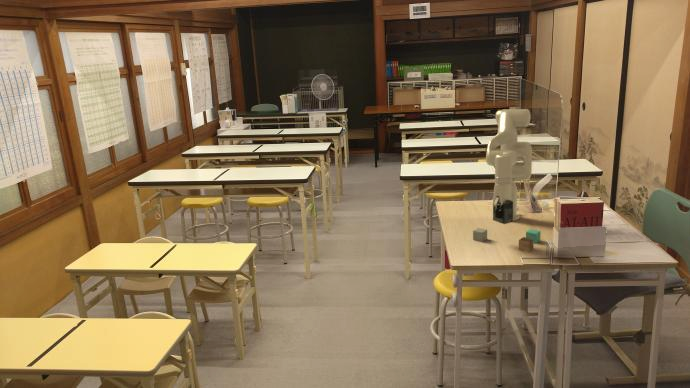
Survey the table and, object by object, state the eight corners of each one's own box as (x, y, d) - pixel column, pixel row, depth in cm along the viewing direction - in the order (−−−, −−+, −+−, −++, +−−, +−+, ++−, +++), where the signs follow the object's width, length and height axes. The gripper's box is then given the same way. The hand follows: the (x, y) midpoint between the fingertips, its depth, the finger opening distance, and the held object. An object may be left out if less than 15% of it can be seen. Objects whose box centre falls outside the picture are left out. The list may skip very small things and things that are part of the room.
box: (513, 222, 253) (513, 201, 250) (503, 224, 251) (504, 203, 248) (501, 217, 260) (501, 197, 257) (492, 220, 257) (492, 199, 254)
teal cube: (530, 238, 263) (530, 229, 262) (540, 240, 260) (540, 230, 258) (525, 241, 259) (526, 231, 258) (535, 243, 256) (536, 233, 255)
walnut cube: (523, 246, 253) (523, 237, 252) (533, 249, 250) (533, 239, 249) (518, 250, 250) (518, 240, 249) (528, 252, 246) (528, 242, 245)
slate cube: (478, 237, 269) (478, 227, 268) (487, 239, 266) (487, 229, 265) (473, 240, 266) (473, 230, 265) (482, 242, 263) (482, 232, 261)
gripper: (504, 174, 258) (504, 209, 263) (486, 183, 246) (486, 219, 251) (519, 176, 253) (518, 212, 258) (501, 185, 241) (501, 222, 246)
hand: (502, 215), depth 254 cm, fingers closed on box, 7 cm apart
